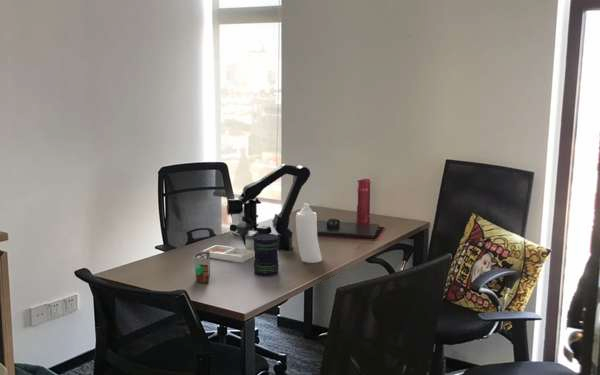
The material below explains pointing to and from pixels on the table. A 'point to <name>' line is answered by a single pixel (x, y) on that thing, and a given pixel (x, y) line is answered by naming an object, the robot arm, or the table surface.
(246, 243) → the grey mushroom
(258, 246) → the storage jar
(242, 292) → the table surface
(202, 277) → the food container
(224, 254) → the sorting tray
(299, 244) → the white plastic bottle
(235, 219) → the skincare box
